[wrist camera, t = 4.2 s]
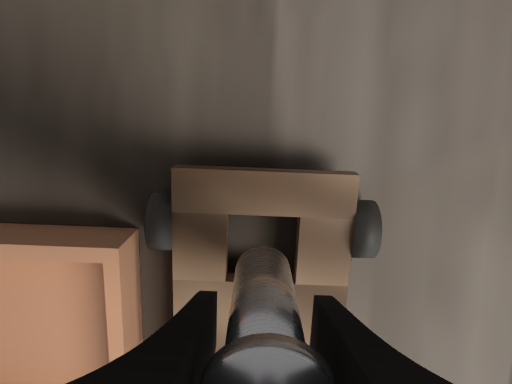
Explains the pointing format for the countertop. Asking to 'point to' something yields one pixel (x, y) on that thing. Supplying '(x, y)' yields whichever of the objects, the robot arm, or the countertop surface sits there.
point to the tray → (66, 300)
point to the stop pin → (265, 328)
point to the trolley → (261, 204)
